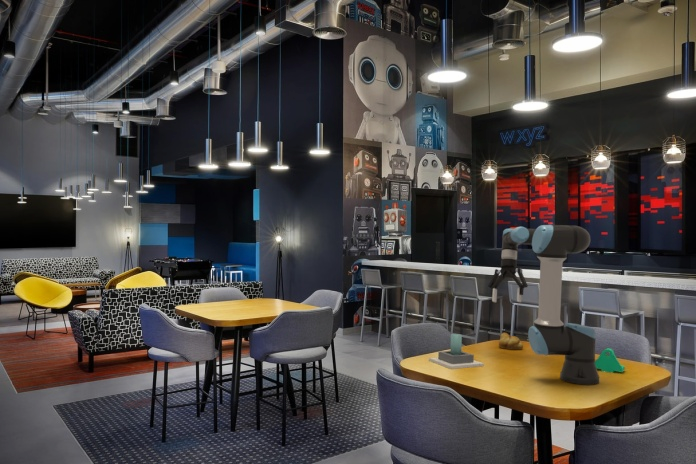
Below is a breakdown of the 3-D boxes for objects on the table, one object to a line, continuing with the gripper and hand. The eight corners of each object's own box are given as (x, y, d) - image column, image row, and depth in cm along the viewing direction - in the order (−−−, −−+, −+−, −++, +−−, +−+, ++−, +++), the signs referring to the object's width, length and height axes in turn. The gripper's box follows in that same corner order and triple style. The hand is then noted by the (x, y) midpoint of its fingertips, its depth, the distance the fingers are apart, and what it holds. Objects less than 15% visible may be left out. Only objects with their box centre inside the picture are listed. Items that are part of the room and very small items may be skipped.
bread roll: (525, 349, 294) (525, 334, 294) (518, 351, 286) (519, 336, 286) (502, 345, 301) (502, 331, 302) (495, 348, 294) (495, 333, 294)
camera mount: (625, 371, 247) (625, 348, 247) (621, 374, 240) (622, 351, 241) (596, 367, 254) (596, 345, 254) (592, 370, 247) (593, 347, 248)
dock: (483, 366, 250) (483, 355, 250) (451, 369, 243) (451, 358, 243) (459, 358, 266) (460, 348, 267) (428, 360, 259) (429, 350, 259)
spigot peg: (463, 361, 253) (463, 335, 254) (454, 362, 251) (455, 336, 252) (456, 359, 258) (457, 333, 258) (448, 359, 256) (448, 334, 256)
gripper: (536, 260, 265) (534, 303, 259) (491, 262, 283) (488, 303, 277) (528, 256, 260) (526, 300, 254) (483, 259, 278) (480, 300, 272)
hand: (506, 301), depth 266 cm, fingers open, 13 cm apart
